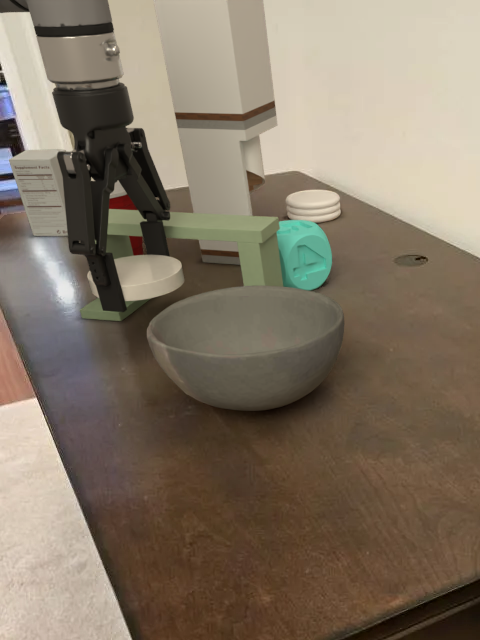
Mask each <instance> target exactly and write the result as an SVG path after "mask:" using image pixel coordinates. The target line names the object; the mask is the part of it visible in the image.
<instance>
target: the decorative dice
mask: <svg viewBox="0 0 480 640" xmlns="http://www.w3.org/2000/svg"><path fill="white" fill-rule="evenodd" d="M279 227H280V229H279V230H278V231H277V240H278V248H279V256H280V264H281V272H282V280H283V287H290V288H297V289H303V290H308V291H314V290H316V289H319V288H320V287H321V286H322V285H323V284H324V283H325V282H326V281H327V279H328V277H329V275H330V273H331V270H332V267H333V251H332V248H331V244H330V241H329V240H328V237H327V234H326V232H325V231H324V230H323V228H322V227H321V226H320V225H318V223H314V222H311V221H306V220H291V219H288V220H280V221H279Z"/></svg>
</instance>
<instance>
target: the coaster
mask: <svg viewBox="0 0 480 640" xmlns="http://www.w3.org/2000/svg"><path fill="white" fill-rule="evenodd" d="M340 200H341V197H340V195H339V194H338V193H337V192H335V191H333V190H328V189H327V190H326V189H306V190H300V191H295V192H292V193H290V194H288V195H287V196H286V198H285V204H286V207H285V208H286V216H287V217H288V218H289V220H306V221H311V222H314V223H316V224H318V223H319V224H320V223H324V222H325V223H327V222H329V221H333V220H335V219H337V218H339V216H340V215H341V212H342V210H341V202H340Z"/></svg>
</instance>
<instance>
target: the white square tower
mask: <svg viewBox="0 0 480 640" xmlns="http://www.w3.org/2000/svg"><path fill="white" fill-rule="evenodd" d="M152 1H153V6H154V12H155V16H156V17H155V18H156V22H157V27H158V32H159V37H160V44H161V48H162V54H163V59H164V63H165V64H164V65H165V69H166V70H165V71H166V74H167V79H168V80H167V81H168V84H169V90H170V96H171V101H172V106H173V111H174V116H175V121H176V122H175V123H176V127H177V132H178V137H179V145H180V148H181V154H182V159H183V164H184V170H185V175H186V179H187V185H188V190H189V196H190V202H191V206H192V213H203V214H224V215H244V216H254V215H253V209H252V204H251V203H252V202H251V196H250V194H252V193H254V192H256V191H257V190H259V189H260V188H262V187H263V186H264V185H265V184H266V176H265V169H264V161H263V153H262V147H261V146H262V145H261V137H260V135H262V134H263V133H265V132H267V131H270V130H271V129H274V128H276V127H278V125H279V124H278V117H277V109H276V100H275V91H274V83H273V73H272V66H271V65H272V64H271V57H270V56H271V55H270V49H269V48H270V46H269V39H268V30H267V21H266V13H265V4H264V0H152ZM198 243H199V250H200V255H201V261H202V263H209V264H210V263H211V264H223V265H236V266H237V265H238V266H241V265H240V258H239V252H238V245H237V242H232V241H214V240H198Z"/></svg>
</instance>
